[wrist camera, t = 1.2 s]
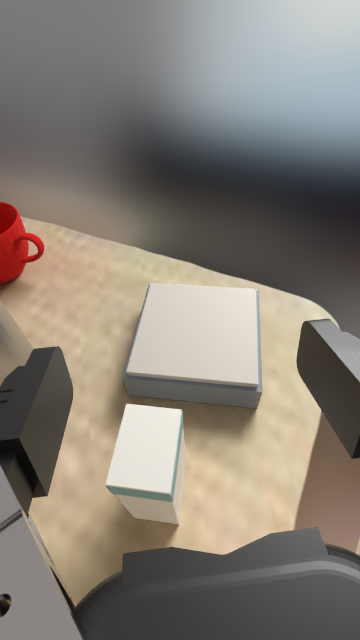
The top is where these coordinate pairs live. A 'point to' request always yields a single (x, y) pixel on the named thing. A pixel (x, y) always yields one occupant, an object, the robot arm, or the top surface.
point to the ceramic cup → (14, 244)
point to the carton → (149, 463)
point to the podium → (197, 346)
